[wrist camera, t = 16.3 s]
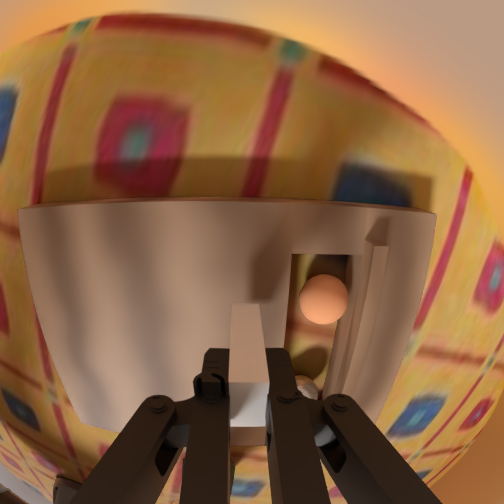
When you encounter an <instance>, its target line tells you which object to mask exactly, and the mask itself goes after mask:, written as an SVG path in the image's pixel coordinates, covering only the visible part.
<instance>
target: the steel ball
mask: <svg viewBox="0 0 504 504" xmlns="http://www.w3.org/2000/svg"><path fill="white" fill-rule="evenodd" d="M295 380H296V384H297V388H298V390H300V391H301V392H302V394H303V395H304V396H306V397H308V398H311V399H315V400H317V399H318V389H317V386H316V384H315V383H314V382H313V381H312V380H311V379H310V378H308V377H306V376H302V375H295Z"/></svg>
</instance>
